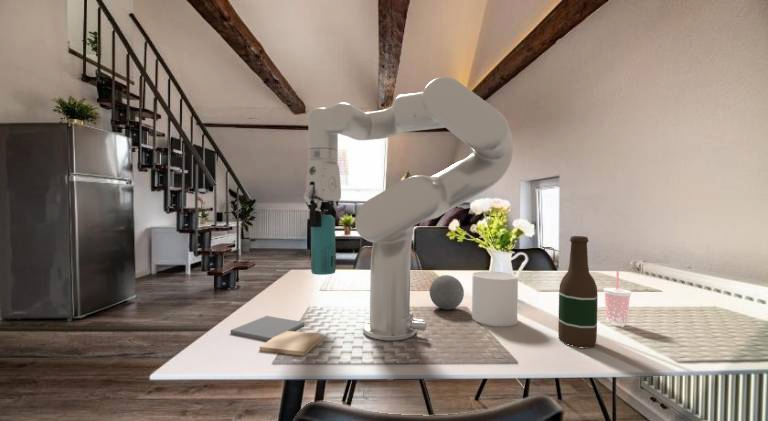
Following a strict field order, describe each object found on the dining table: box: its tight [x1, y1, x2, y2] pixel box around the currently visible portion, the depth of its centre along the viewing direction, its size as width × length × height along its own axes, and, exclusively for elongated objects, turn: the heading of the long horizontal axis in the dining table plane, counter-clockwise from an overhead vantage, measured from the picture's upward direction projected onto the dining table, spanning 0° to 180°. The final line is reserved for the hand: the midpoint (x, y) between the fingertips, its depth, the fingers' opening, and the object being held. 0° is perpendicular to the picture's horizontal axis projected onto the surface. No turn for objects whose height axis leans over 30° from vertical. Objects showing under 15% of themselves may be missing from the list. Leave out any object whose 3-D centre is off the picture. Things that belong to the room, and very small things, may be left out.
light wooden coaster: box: [259, 330, 325, 357], centre depth 77 cm, size 10×10×1 cm
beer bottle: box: [558, 235, 599, 348], centre depth 80 cm, size 8×8×24 cm
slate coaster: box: [230, 315, 305, 342], centre depth 86 cm, size 12×12×1 cm
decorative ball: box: [429, 274, 465, 311], centre depth 105 cm, size 10×10×10 cm
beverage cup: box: [603, 270, 632, 325], centre depth 94 cm, size 6×6×14 cm
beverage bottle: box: [310, 201, 337, 276], centre depth 93 cm, size 6×7×20 cm
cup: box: [471, 271, 519, 328], centre depth 96 cm, size 12×12×12 cm
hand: (323, 225), depth 93 cm, fingers closed on beverage bottle, 6 cm apart
